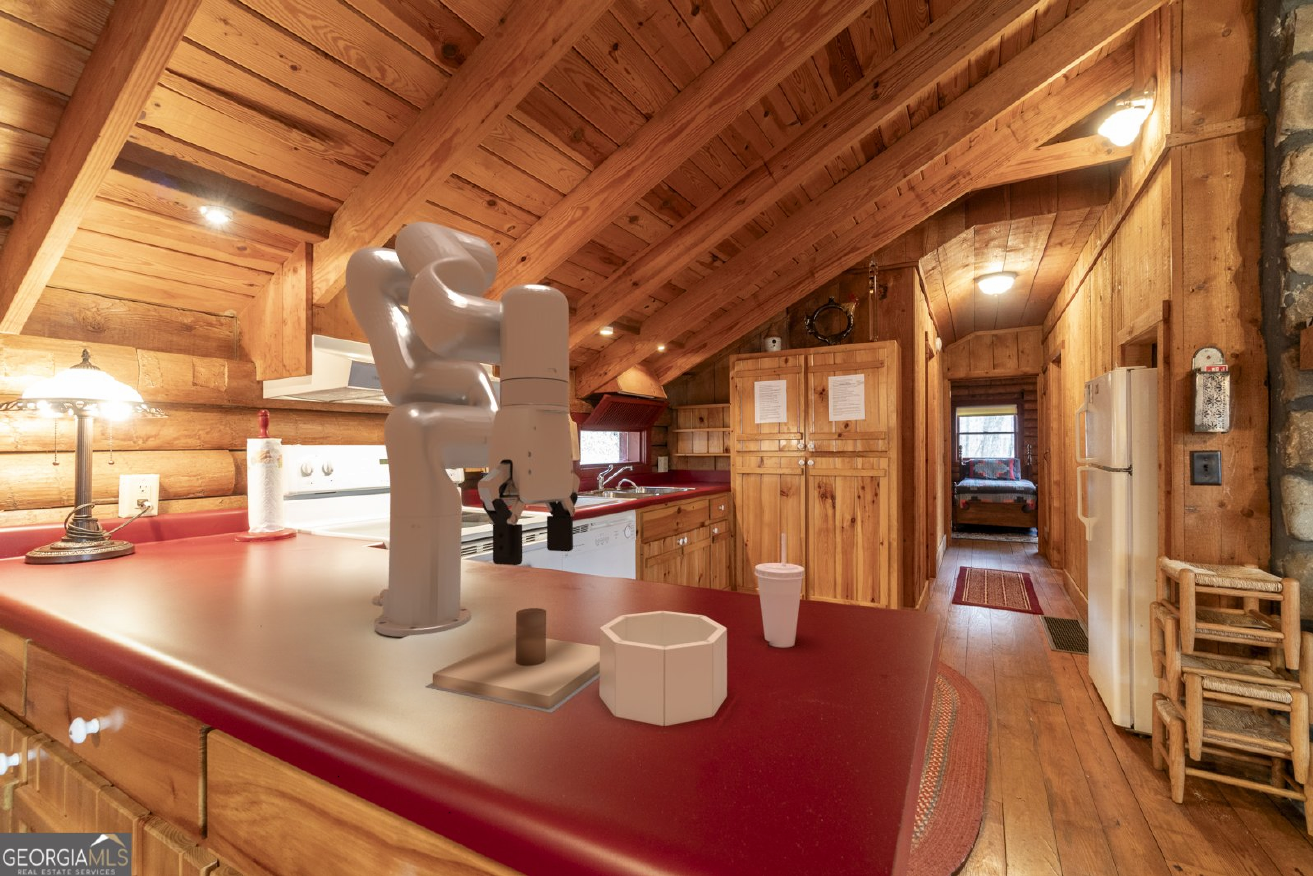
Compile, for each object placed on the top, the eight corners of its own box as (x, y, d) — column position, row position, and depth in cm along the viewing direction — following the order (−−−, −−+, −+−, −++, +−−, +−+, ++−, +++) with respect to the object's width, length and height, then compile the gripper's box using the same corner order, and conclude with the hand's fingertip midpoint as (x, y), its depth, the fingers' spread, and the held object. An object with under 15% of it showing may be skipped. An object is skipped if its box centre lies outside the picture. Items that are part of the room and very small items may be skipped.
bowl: (581, 714, 52) (582, 638, 52) (634, 671, 62) (634, 607, 63) (701, 739, 47) (701, 655, 47) (735, 687, 58) (735, 619, 58)
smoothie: (807, 652, 68) (806, 537, 69) (753, 649, 70) (753, 536, 70) (803, 636, 75) (803, 531, 75) (755, 633, 76) (754, 530, 76)
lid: (432, 685, 57) (433, 621, 57) (516, 643, 70) (517, 592, 70) (549, 709, 51) (550, 639, 52) (617, 659, 64) (617, 603, 65)
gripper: (549, 409, 71) (550, 545, 70) (452, 393, 55) (451, 568, 54) (602, 406, 68) (603, 547, 67) (515, 387, 52) (515, 572, 51)
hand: (535, 556), depth 61 cm, fingers open, 9 cm apart
